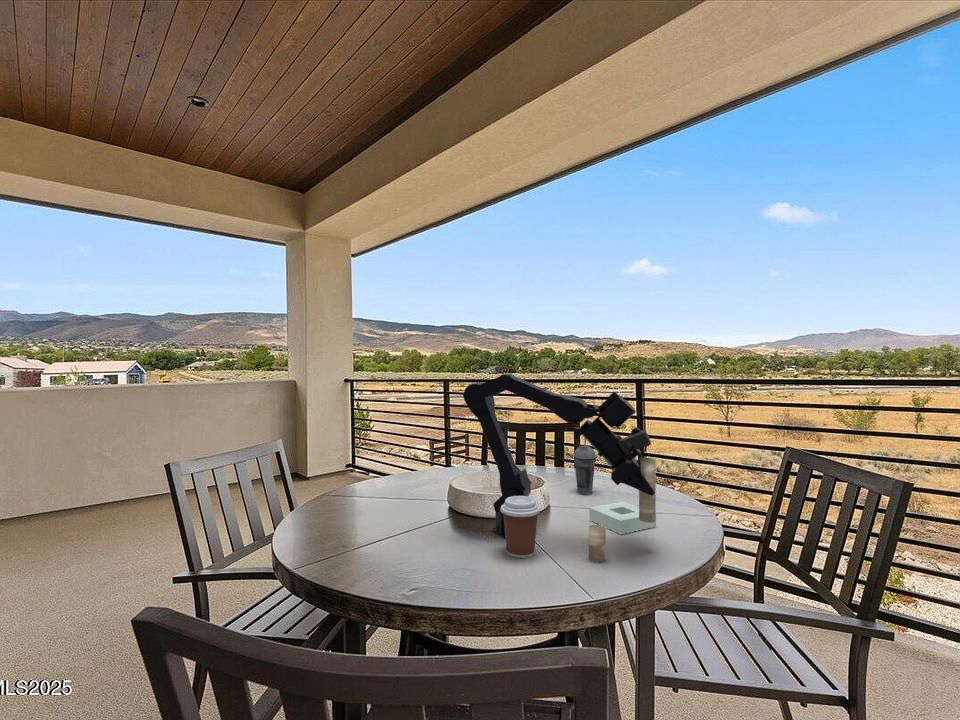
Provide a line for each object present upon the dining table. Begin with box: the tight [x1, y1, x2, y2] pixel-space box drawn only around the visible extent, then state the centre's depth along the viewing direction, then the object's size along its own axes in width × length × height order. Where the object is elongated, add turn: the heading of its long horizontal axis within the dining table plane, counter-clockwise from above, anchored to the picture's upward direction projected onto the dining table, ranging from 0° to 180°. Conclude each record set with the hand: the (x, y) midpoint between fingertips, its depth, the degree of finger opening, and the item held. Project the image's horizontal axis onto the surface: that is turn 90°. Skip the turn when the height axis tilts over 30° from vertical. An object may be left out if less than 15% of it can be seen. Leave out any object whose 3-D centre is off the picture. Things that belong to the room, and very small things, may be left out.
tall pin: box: [638, 457, 657, 523], centre depth 114 cm, size 4×4×14 cm
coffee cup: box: [500, 496, 541, 559], centre depth 113 cm, size 9×9×12 cm
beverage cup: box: [573, 437, 597, 496], centre depth 161 cm, size 7×7×20 cm
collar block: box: [589, 501, 657, 535], centre depth 132 cm, size 12×12×4 cm
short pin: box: [588, 524, 607, 564], centre depth 109 cm, size 4×4×7 cm
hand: (653, 491), depth 114 cm, fingers closed on tall pin, 4 cm apart
